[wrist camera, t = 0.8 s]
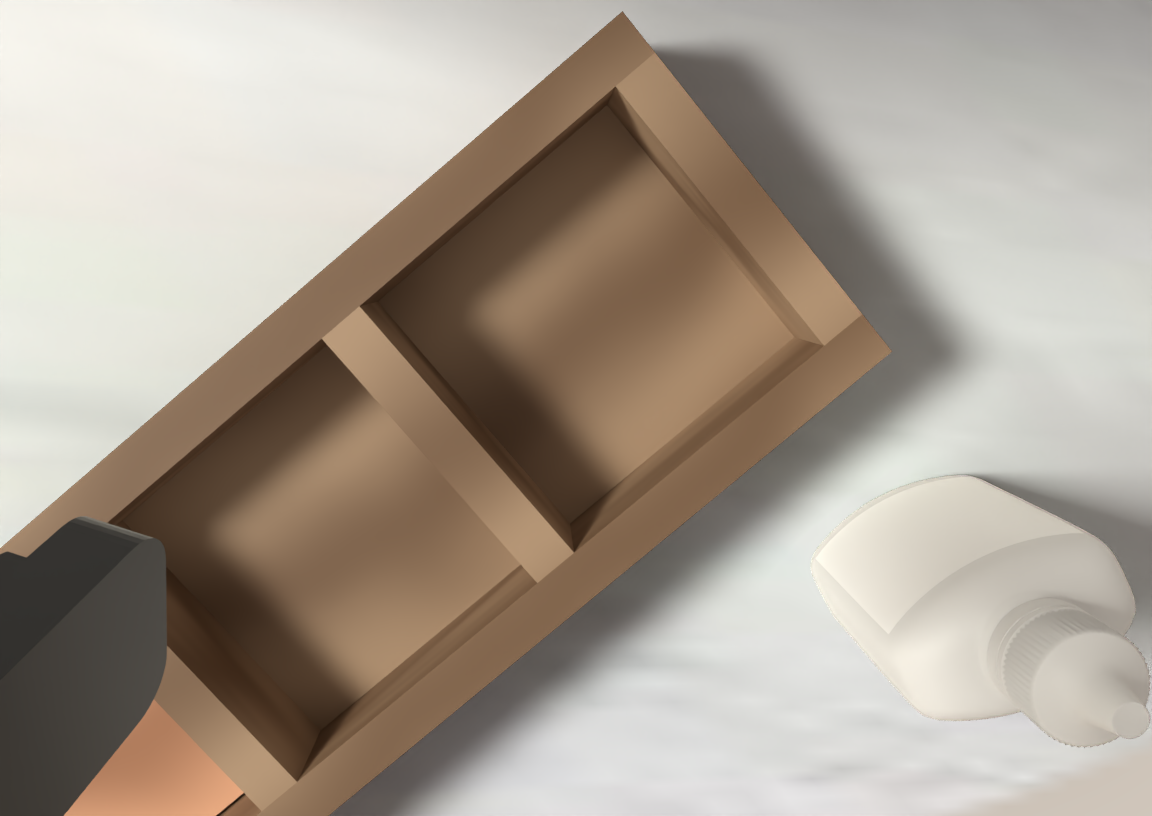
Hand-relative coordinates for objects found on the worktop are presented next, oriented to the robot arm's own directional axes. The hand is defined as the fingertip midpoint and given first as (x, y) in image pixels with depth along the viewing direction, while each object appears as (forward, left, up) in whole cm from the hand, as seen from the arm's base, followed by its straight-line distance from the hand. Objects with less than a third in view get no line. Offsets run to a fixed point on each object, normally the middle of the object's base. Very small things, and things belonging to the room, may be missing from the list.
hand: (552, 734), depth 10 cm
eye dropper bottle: (+10, +6, -21) cm, 23 cm away
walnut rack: (-1, -6, -20) cm, 21 cm away
